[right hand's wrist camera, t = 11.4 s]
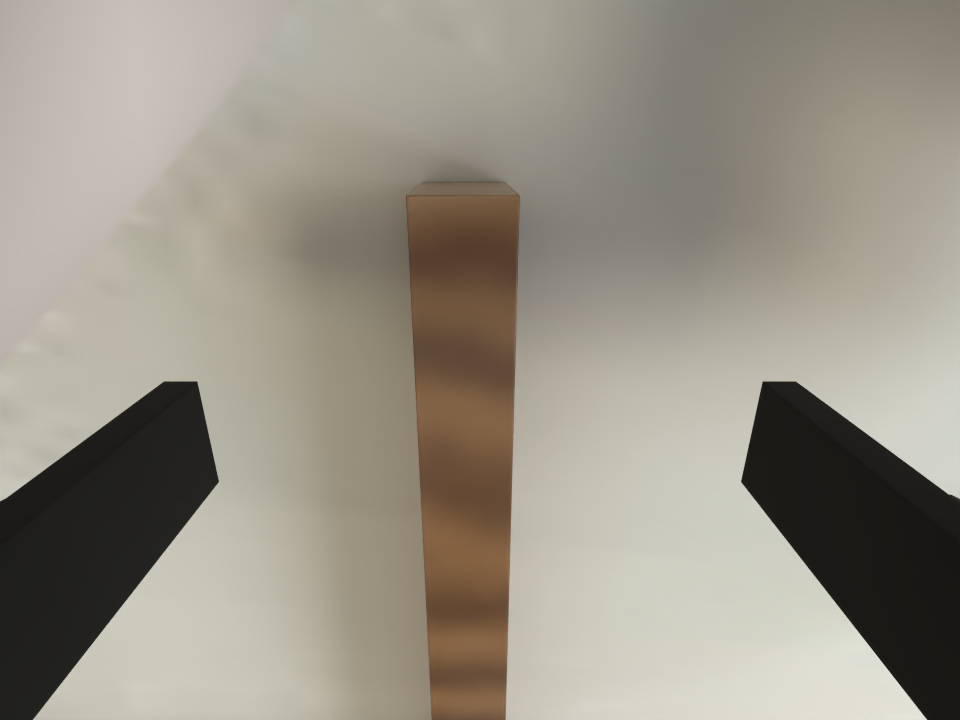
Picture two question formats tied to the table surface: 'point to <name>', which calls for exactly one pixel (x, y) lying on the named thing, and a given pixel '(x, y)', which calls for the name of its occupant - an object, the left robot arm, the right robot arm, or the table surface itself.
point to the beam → (465, 432)
